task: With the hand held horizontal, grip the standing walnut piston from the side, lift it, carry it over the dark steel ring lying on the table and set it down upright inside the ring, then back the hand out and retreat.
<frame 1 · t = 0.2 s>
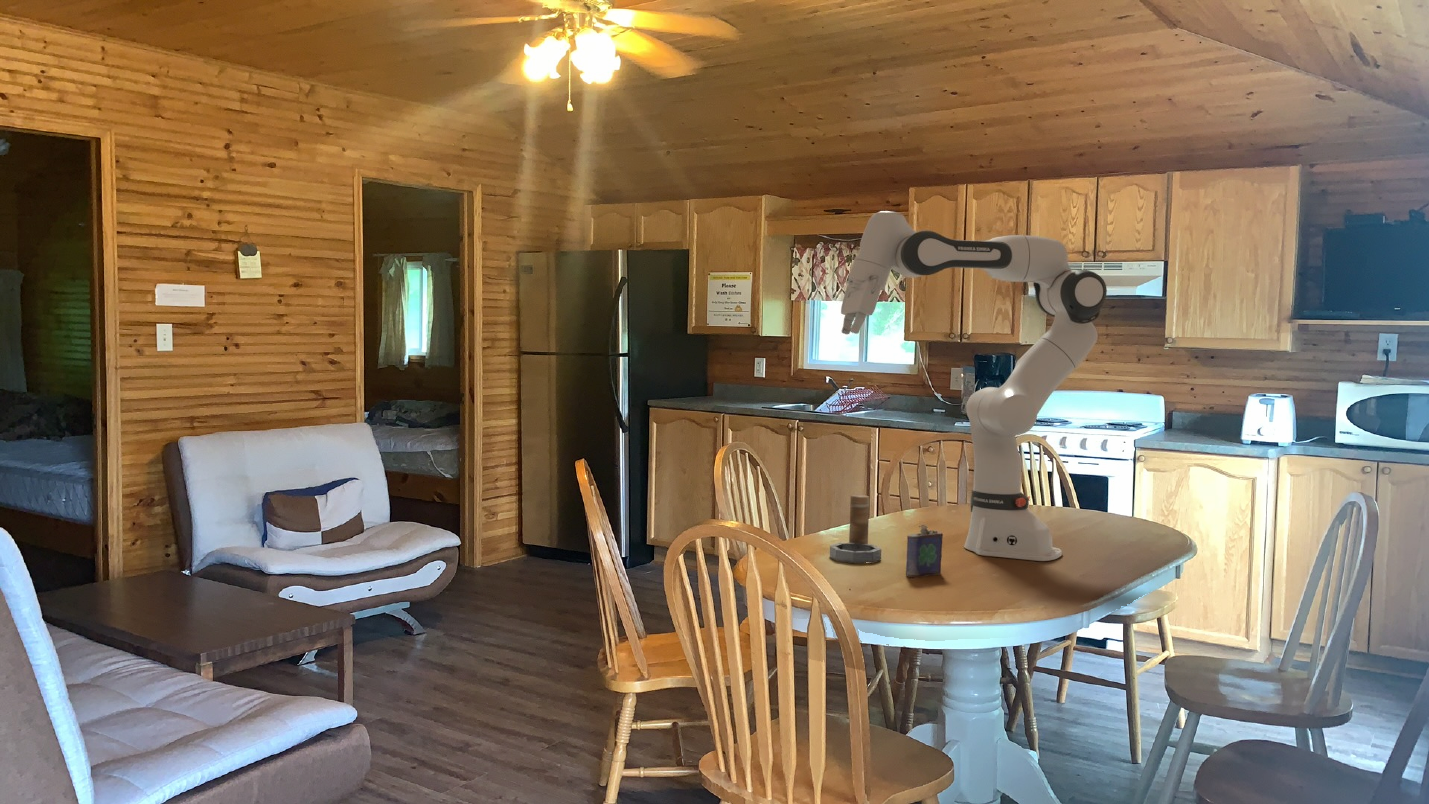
hand: (849, 333, 250), 51 cm above the table, tool tilted 15°, fingers open, 8 cm apart
piston: (858, 545, 259), on the table
ring: (855, 558, 244), on the table
flask: (923, 576, 228), on the table
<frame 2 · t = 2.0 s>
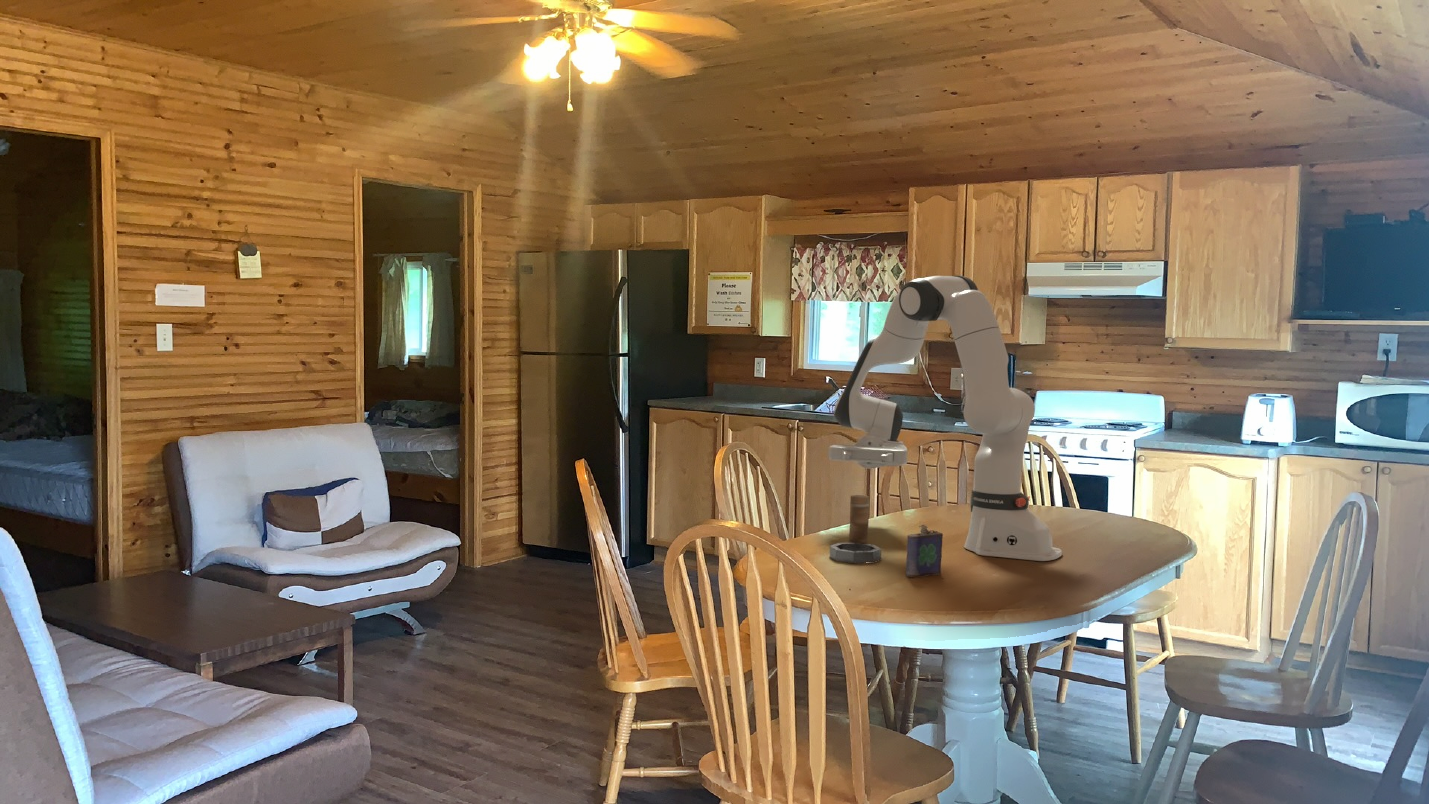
hand: (865, 457, 269), 20 cm above the table, tool horizontal, fingers open, 8 cm apart
nothing on the table moved.
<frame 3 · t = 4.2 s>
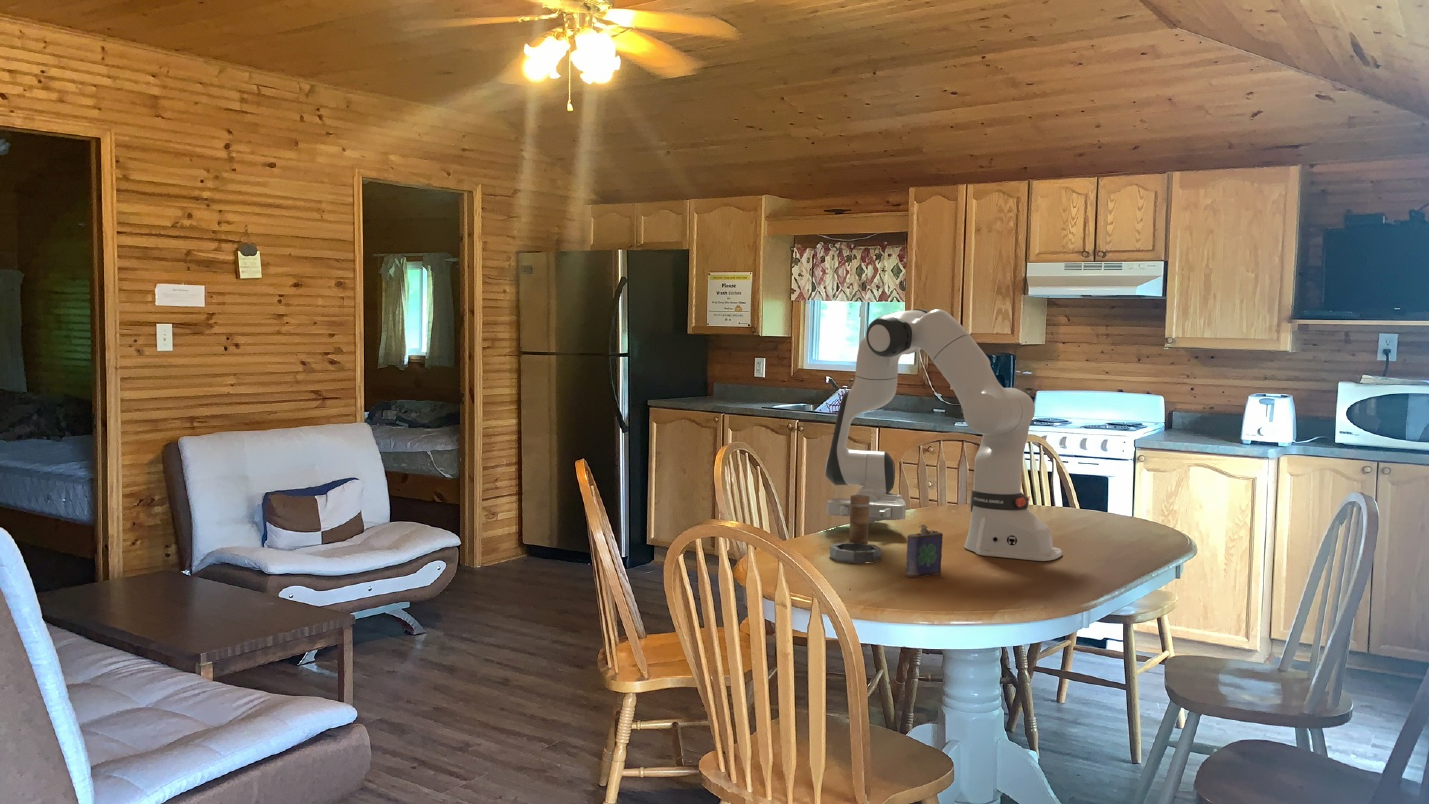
hand: (863, 513, 267), 6 cm above the table, tool horizontal, fingers open, 8 cm apart
nothing on the table moved.
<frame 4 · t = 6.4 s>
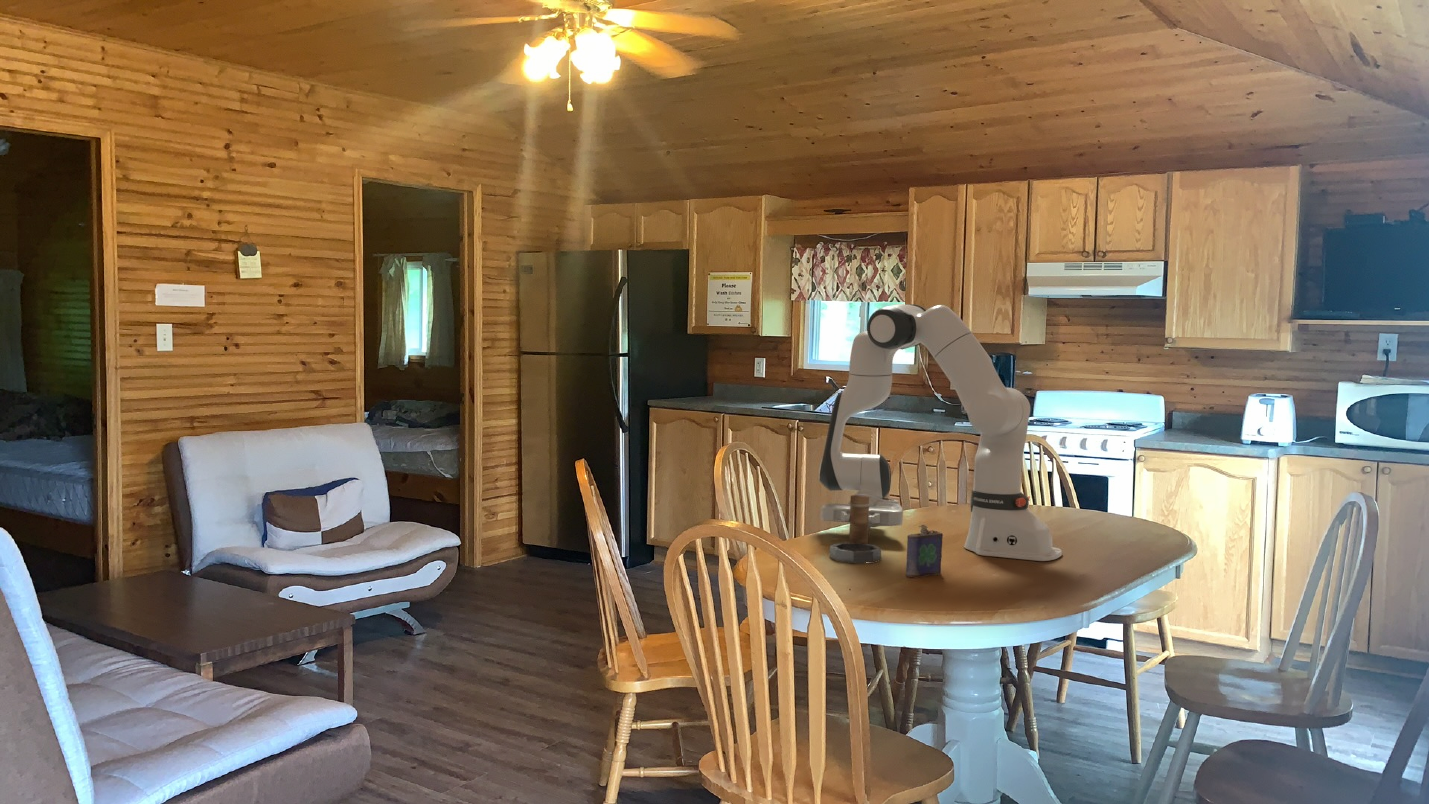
hand: (858, 519, 257), 7 cm above the table, tool horizontal, fingers closed on piston, 4 cm apart
piston: (858, 545, 259), on the table, touching gripper
everything else where it was.
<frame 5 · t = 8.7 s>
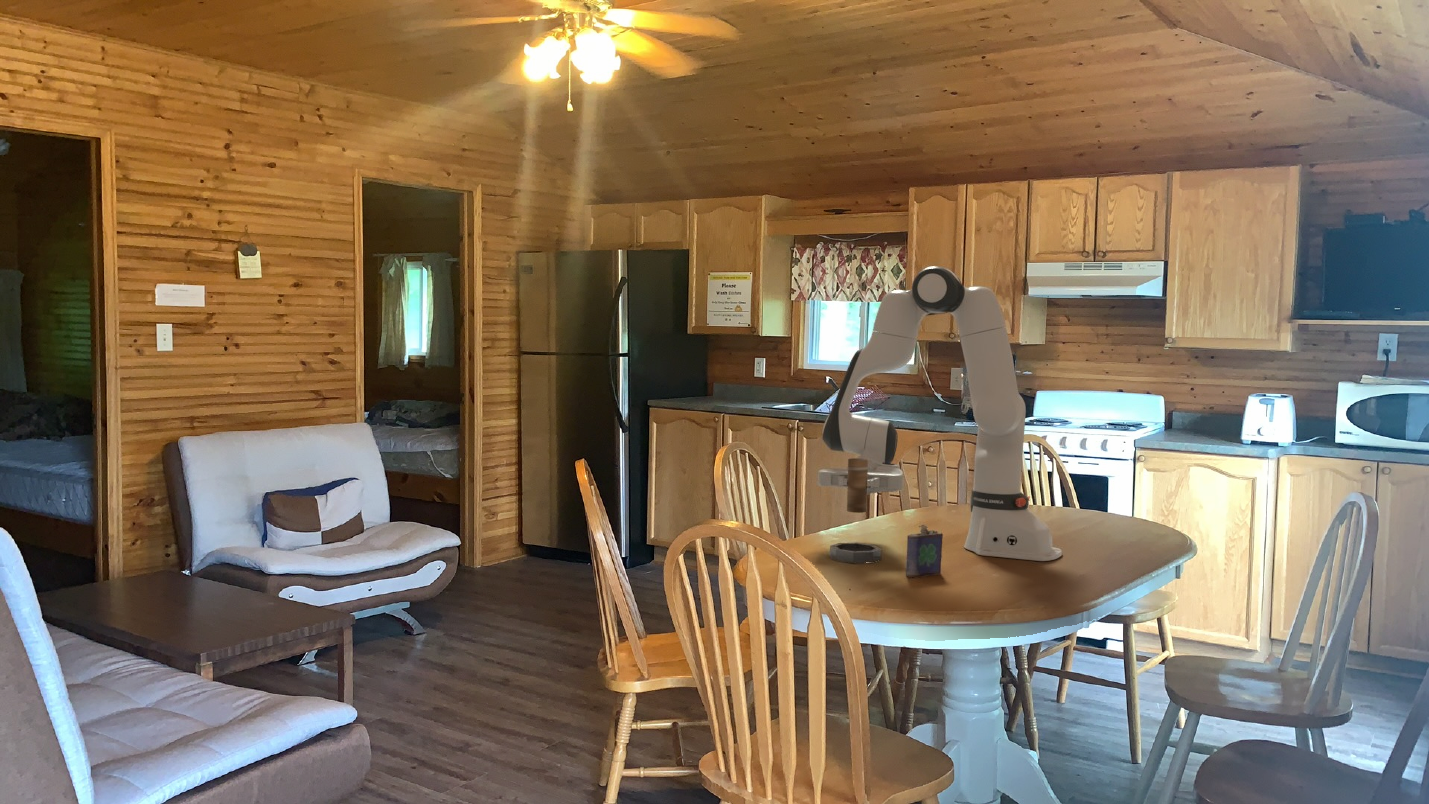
hand: (856, 483, 245), 17 cm above the table, tool horizontal, fingers closed on piston, 4 cm apart
piston: (856, 511, 247), point 10 cm above the table, touching gripper
everything else where it was.
when the fingers open (7 cm above the table, at t = 11.2 s): piston stays where it is, resting in ring.
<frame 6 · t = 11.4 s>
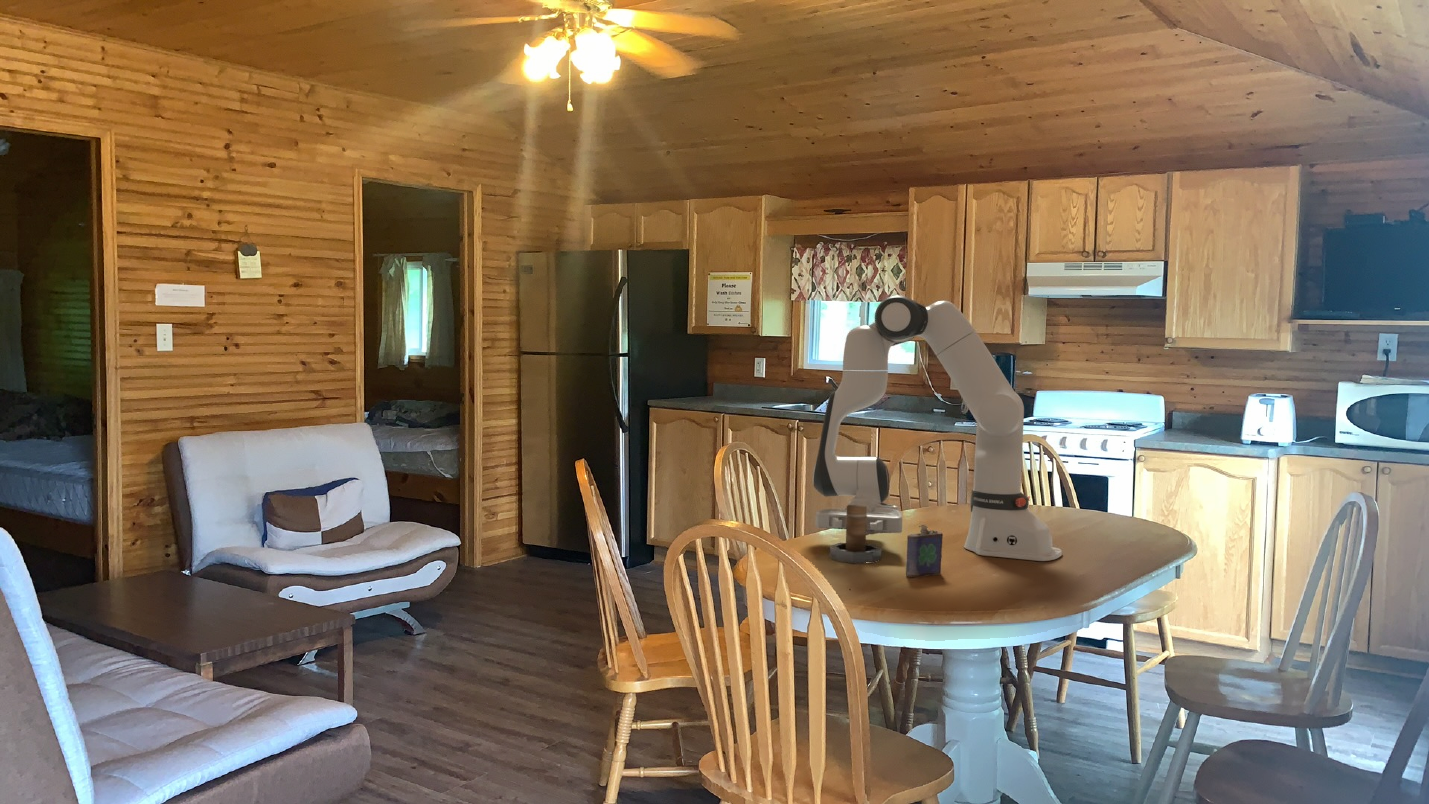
hand: (855, 526, 242), 7 cm above the table, tool horizontal, fingers open, 6 cm apart
piston: (855, 558, 244), resting in ring
everything else where it was.
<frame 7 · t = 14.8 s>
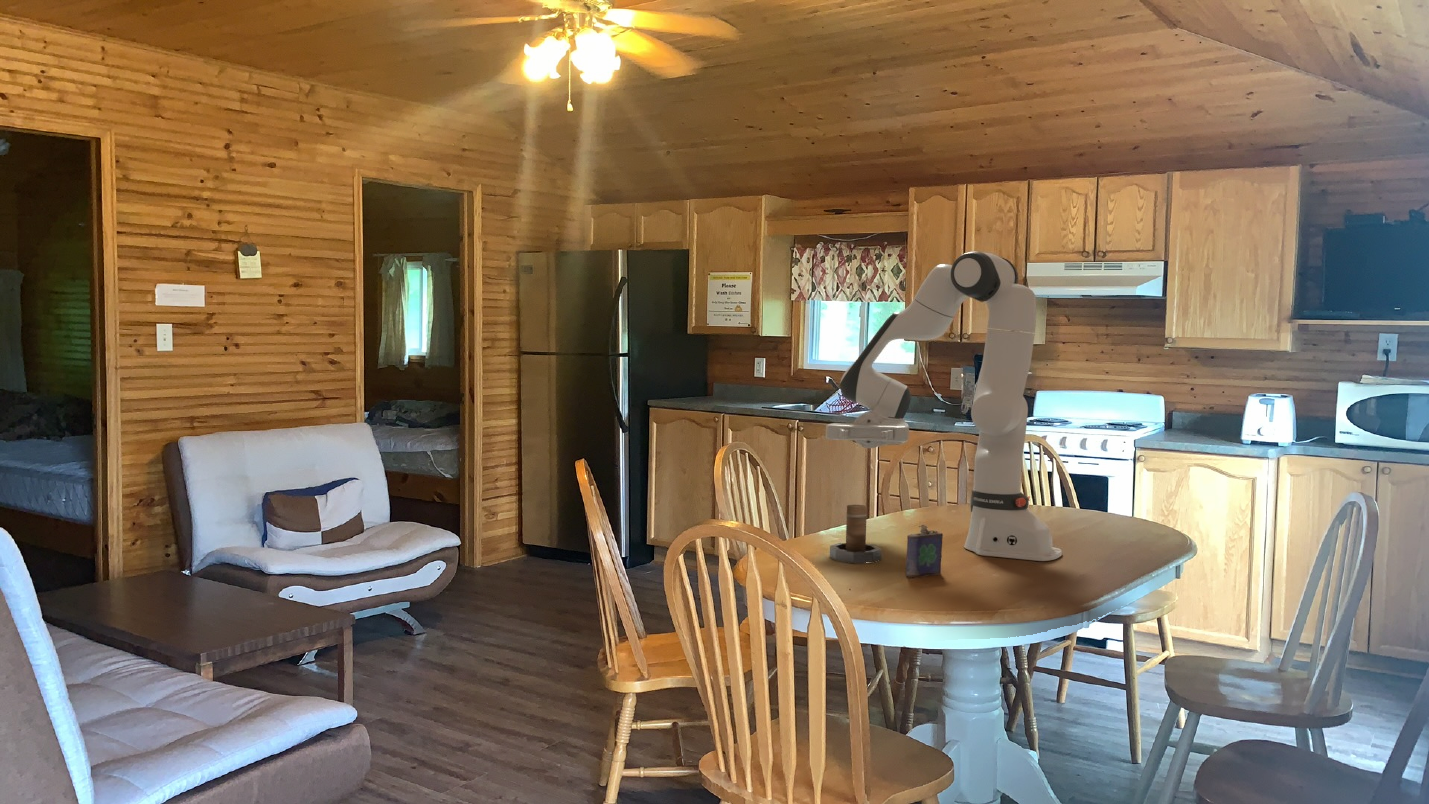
hand: (864, 434, 254), 27 cm above the table, tool horizontal, fingers open, 8 cm apart
nothing on the table moved.
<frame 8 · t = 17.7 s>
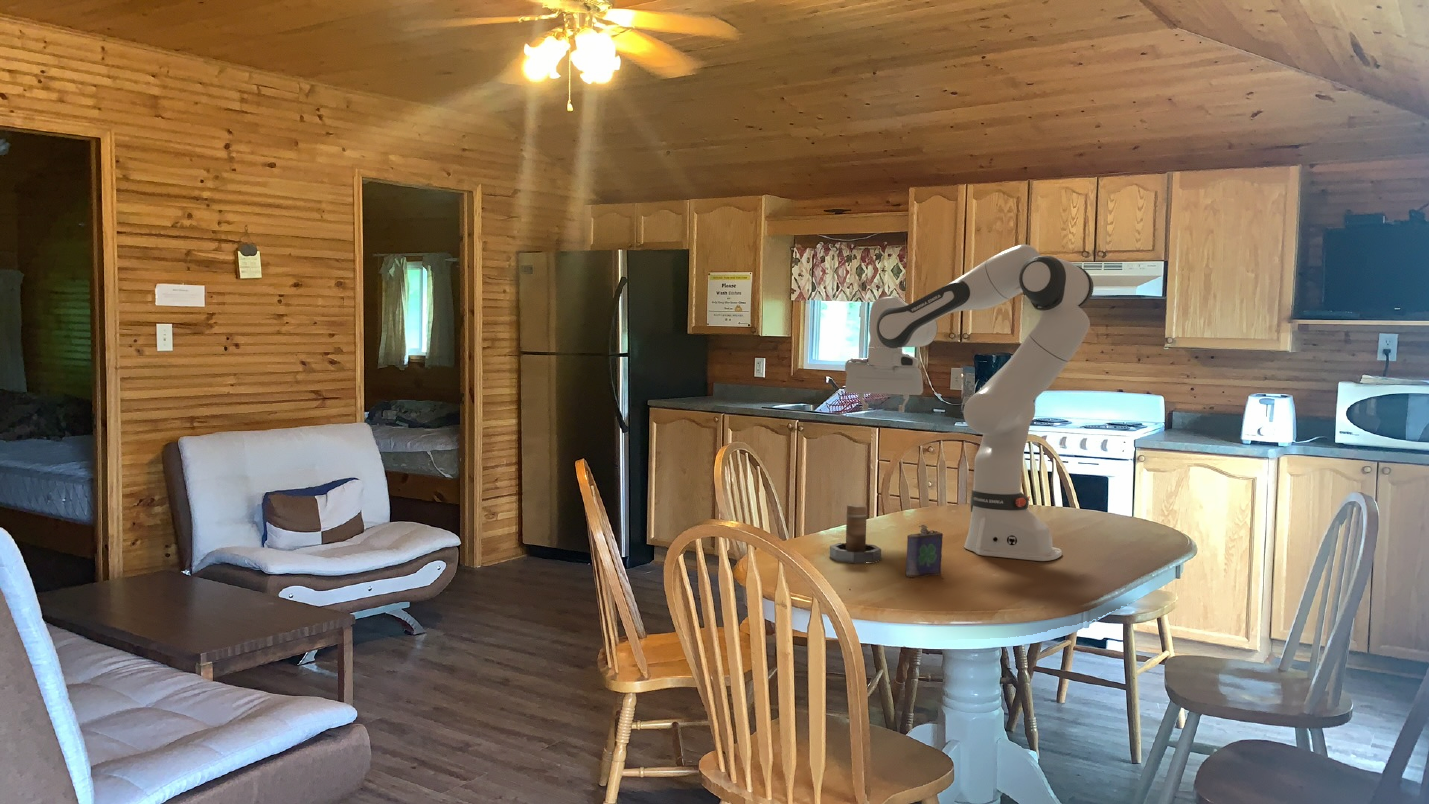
hand: (883, 411, 281), 31 cm above the table, tool pointing down, fingers open, 8 cm apart
nothing on the table moved.
at the end: piston 0.0 cm from the ring (horizontally); piston resting in ring; piston tilted 0° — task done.
